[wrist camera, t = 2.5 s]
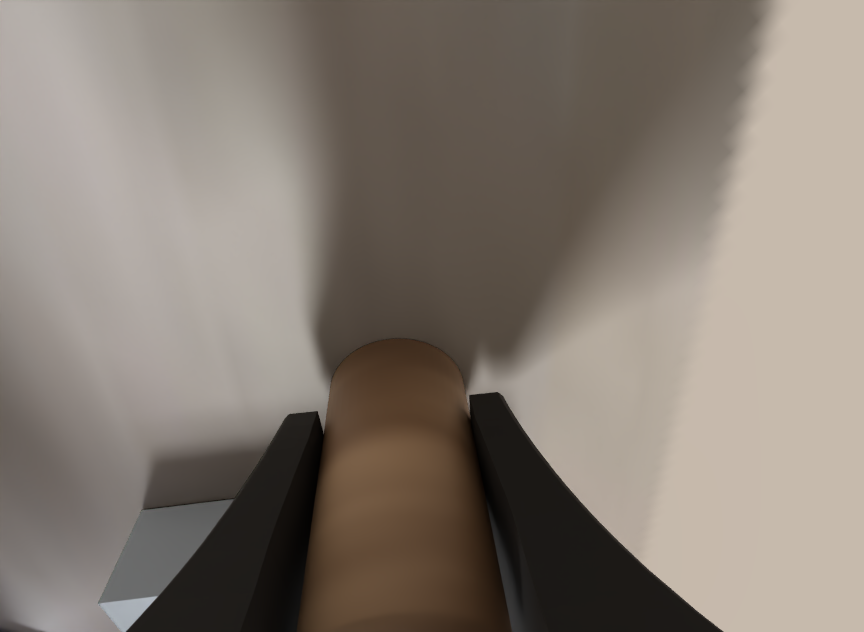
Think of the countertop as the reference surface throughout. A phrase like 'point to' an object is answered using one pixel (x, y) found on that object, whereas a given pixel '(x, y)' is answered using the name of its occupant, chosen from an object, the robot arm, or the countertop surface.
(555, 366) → the countertop surface
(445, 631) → the dowel
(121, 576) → the socket board
